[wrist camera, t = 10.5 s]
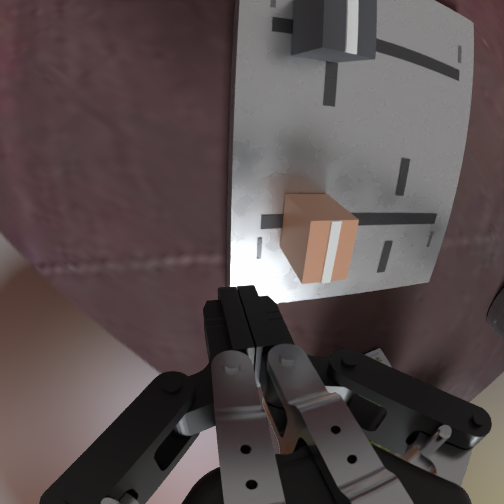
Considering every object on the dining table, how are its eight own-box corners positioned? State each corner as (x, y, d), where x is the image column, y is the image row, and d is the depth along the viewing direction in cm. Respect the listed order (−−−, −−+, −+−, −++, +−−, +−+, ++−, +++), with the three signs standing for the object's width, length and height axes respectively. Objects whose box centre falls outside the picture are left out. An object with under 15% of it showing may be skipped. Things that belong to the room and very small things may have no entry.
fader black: (338, 8, 14) (378, -7, 10) (336, 62, 16) (377, 59, 12) (294, -1, 14) (325, -23, 10) (291, 55, 16) (323, 47, 12)
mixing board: (458, 23, 17) (474, 22, 15) (417, 271, 30) (429, 282, 28) (238, -45, 13) (243, -57, 11) (226, 292, 26) (230, 308, 24)
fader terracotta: (326, 193, 21) (360, 220, 17) (319, 245, 23) (347, 280, 19) (285, 193, 20) (311, 222, 16) (280, 248, 22) (302, 285, 18)
